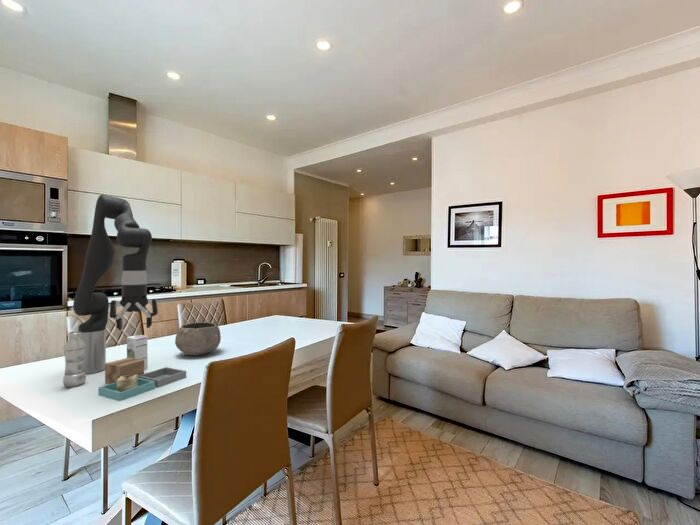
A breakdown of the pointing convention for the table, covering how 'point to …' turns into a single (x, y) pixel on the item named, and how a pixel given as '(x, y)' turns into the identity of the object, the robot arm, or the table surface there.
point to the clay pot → (198, 338)
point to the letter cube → (127, 382)
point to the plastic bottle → (74, 360)
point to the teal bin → (112, 392)
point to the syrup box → (138, 348)
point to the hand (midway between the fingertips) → (134, 328)
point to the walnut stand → (123, 369)
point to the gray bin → (164, 376)
